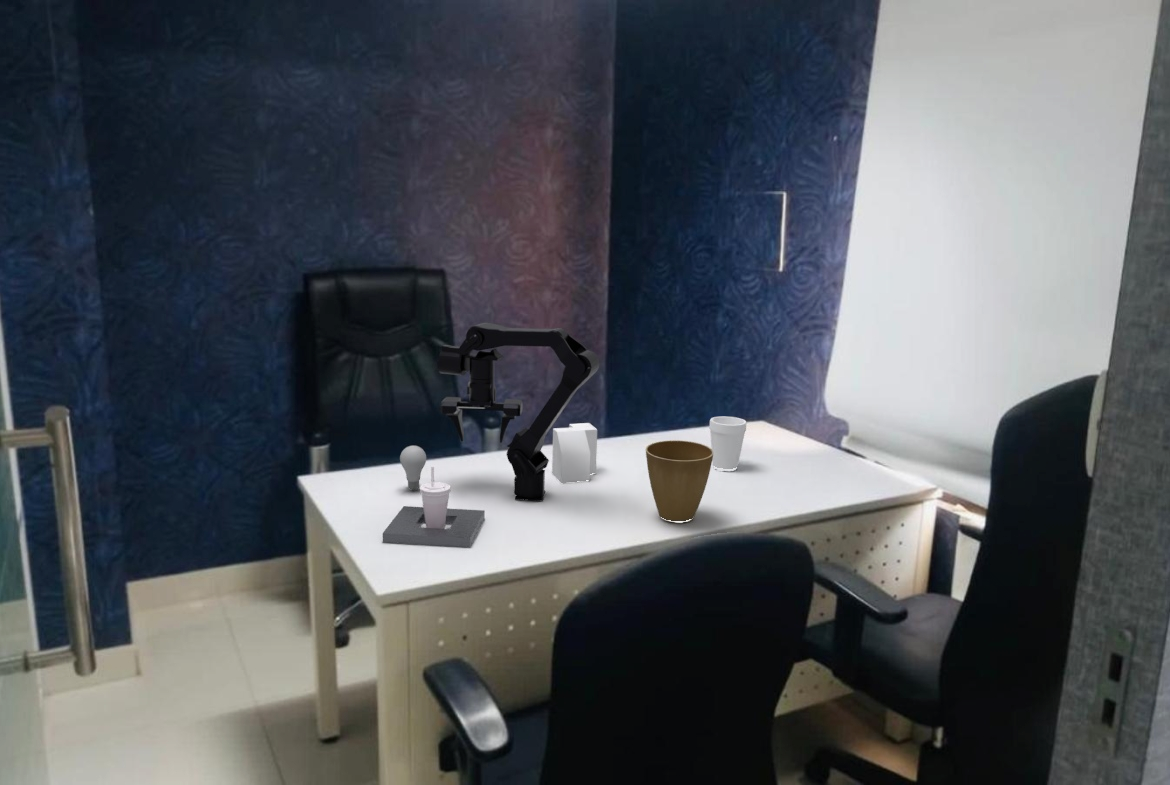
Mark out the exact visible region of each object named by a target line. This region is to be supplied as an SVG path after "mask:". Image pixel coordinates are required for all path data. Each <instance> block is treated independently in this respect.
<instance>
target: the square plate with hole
mask: <svg viewBox="0 0 1170 785" xmlns="http://www.w3.org/2000/svg"><path fill="white" fill-rule="evenodd" d="M485 513H486V512H485V509H484V510H480V509H463V508H448V507H447V514H446V522H445V525H450V528H445V529H438V528H426V527H421V526H422V525H423V524H426V522H425V514H424V507H423V506H412V505H410V506H408V505H407V506H406V505H405V506H403V507H402V508H401V509H400V510H399V511H398V513H397V514H396V515H395V517H394V518H393V519H392V520H391V522H390V523H389V524H388V526H387V527H386V528H385V529H384V531H383V532H382V543H386V544H398V545H399V544H401V545H417V544H421V545H420V546H437V547H439V546H440V547H451V548H452V547H453V548H455V547H456V548H471V547H472V545H473V543H474V540H475V539H476V537H477V535H478V533H479V531H480V529H481V527H482V525H483V523H484V521H485Z"/></svg>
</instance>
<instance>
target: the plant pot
mask: <svg viewBox="0 0 1170 785" xmlns="http://www.w3.org/2000/svg"><path fill="white" fill-rule="evenodd" d="M713 454H714V452H713V450H712V447H710V446H708V445H705V444H702V443H700V442H695V441H688V440H679V439H678V440H676V439H674V440H671V439H670V440H661V441H655V442H652V443H650V444H648V445H647V446H646V447H645V458H646V465H647V472H648V478H649V479H648V480H649V483H650V488H651V492H652V496H653V499H654V502H655V507H656V509H657V513H658V515H659V517H662V518H664V519H666V520H671V521H686V520H689V519H692V518H693V517H695V515H696V513H697V511H698V510H699V506H700V504H701V501H702V498H703V496H704V493H705V490H706V486H707V484H708V481H709V480H708V479H709V478H710V477H709V476H710V472H711V468H712V465H713V461H712V459H713ZM693 519H694V518H693ZM693 519H692V520H693Z"/></svg>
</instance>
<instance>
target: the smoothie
mask: <svg viewBox="0 0 1170 785" xmlns="http://www.w3.org/2000/svg"><path fill="white" fill-rule="evenodd" d="M430 468H431V469H430V476H431V478H430V480H431V481H430V482H427V483H423V484H422V485H420V486H419V493H420V495H421V500H422V505H423V506H422V507H424V514H425V522H426V523H425V528H438V529H446V524H445V522H446V514H447V508H448V506H449V505H448V503H449V497H450V496H449V495H450V494H451V493H452V492H451V485H450V484H448V483H446V482H439V481H435V467H434V466H431V467H430Z"/></svg>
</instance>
